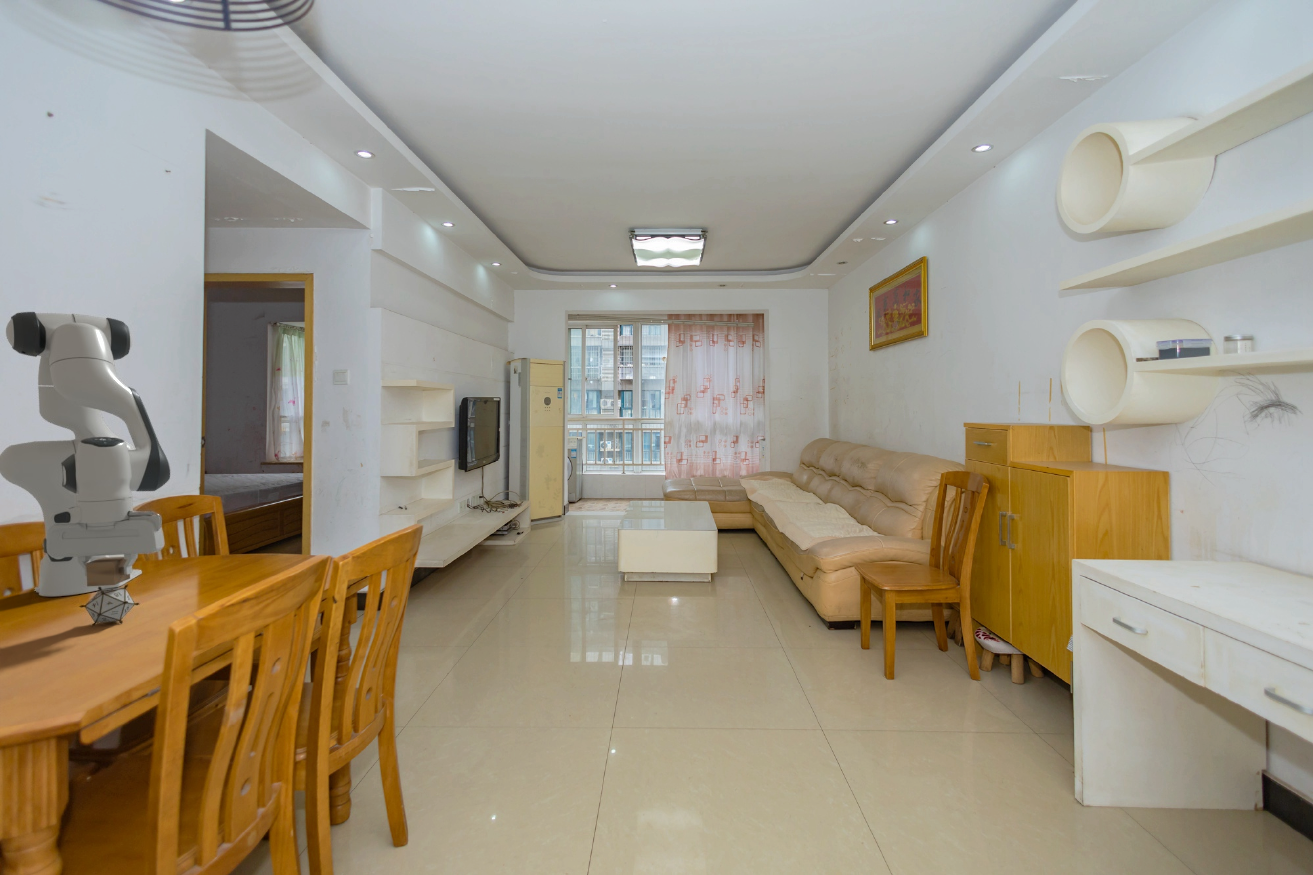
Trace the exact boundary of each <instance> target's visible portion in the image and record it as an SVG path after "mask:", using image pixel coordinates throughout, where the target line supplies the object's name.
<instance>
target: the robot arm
mask: <svg viewBox="0 0 1313 875" xmlns="http://www.w3.org/2000/svg"><path fill="white" fill-rule="evenodd" d="M5 336H6V339H7V342H8V343H9V345H10V346H11V348H12V350H14V351H15V352H17V353H18V354H21V355H23V356H29V357H35V358H36V357H38V356H39V357H40V361H39V366H38V375H37V376H38V377H37V384H38V387H37V388H38V390H37V391H38V408H39V409H38V412H39V414H40V415H39V416H41V417H42V419H43V420H44V421H45V422H48V423H50V424H52V425H55V426H58V427H61V428H64V429H66V430H69V431H71V432H72V433H73V435H74V437H75V438H74V439H70V440H67V439H66V440H39V441H37V440H36V441H27V442H23V443H17V444H12V445H9V446H7V447H6V448H5V449H4V450H3V451H2V452H1V453H0V475H1V477H3V478H4V479H5V480H6V481H8V482H9V483H11V484H13V485H15V486H18V487H20V488H21V489H23V490H25V491H26V492H27V493H29V494H30V495H31V496H32V497H33V498H34V499H35V500H36V501H37V503H38V505H39V506H40V509H41V512H42V516H43V522H44V523H43V524H44V532H45V538H43V541H42V542H43V543H42V547H43V553H45V555H44V556H43V558H42V559H41V560H40V562H39V563H40V565H39V574H38V575H39V578H38V586H36V587H34V589H35V590H33V591H36V592H35V593H38V595H39V596H41V597H62V596H73V595H79V594H85V593H91V592H95V591H96V592H98V591H100V590H99V589H98V587H101V588H102V589H112V588H120V587H122V586H124V585H126V584H127V583H128V582H130V581H131V580H133V579H135V578H136V577H138V576H141V574H143V571H142V570H141V569H137V568H136V569H135V568H133V565H134V564H135V562H136V560H137V559H138V557H139V556H138V555H141V554H155V553H158V552H160V551H161V550H162V549H163V548H164V547H165V537H164V531H163V528H162V525H163V524H162V520H163V518H162V515H160V514H159V513H157V512H155V511H154V510H145V511H142V510H134V506H133V505H134V504H133V502H134V501H133V493H132V492H155V491H157V490H159V489H161V488H162V487H163V486H164V485H166V483H167V482H169V480H170V479H171V472H172V471H171V470H172V469H171V465H170V462H169V460H168V458H167V455H166V454H165V451H164V450H163V448H162V446H161V445H160V442H159V439H158V437H157V435H156V432H155V429H154V427H153V423H152V422H151V420H150V417H149V415H148V412H147V409H146V408H145V404H144V403H143V400H142V399H141V397H140V395H139V393H138V392H137V390H135V388H132V387H130V386H128V385H126V384H125V383H124V382H123V381H122V379H121V378H120V377H119V375H118V373H117V371H116V367H115V361H116V360H120V359H123V358H124V357H126V356H127V355H129V353H130V351H131V348H132V346H133V336H132V333H131V331H130V329H129V326H128V325H127V324H126V323H125V322H124V321H122V320H118V319H115V318H111V317H106V318H104V317H99V316H92V315H86V314H79V313H69V314H68V313H56V312H55V313H53V312H50V313H48V312H47V313H46V312H38V313H36V312H35V311H22V312H21V311H20V312H17V313H15V314H14V315H12V316H11V317H10V320H9V321H8V323H7V325H6V328H5ZM102 412H104V413H108V414H110V415H113V416H116V417H118V418H119V419H121V420H122V421H123V422H124V423H125V425H126V427H127V430H128V433H129V435H130V438H131V440H132V443H133V445H132V444H131V443H130V442H129V441H126V440H124V438H123V439H122V438H121V437H120V436H118V435H117V434H116V433H114V432H113V431H112V430H111V429H110V428H109V427H108V425H107V423H106V422H105V419H104V417H103V414H102ZM105 557H124V559H127V561H126V563H125V565H124V566H121V567H119V571H120V572H119V574H120V575H128V574H130V579H128V580H125V581H123V582H120V583H118V584H116V585H105V586H87V571H86V563H88V562H91V561H94V560H97V559H100V558H105Z"/></svg>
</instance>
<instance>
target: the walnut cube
mask: <svg viewBox="0 0 1313 875" xmlns="http://www.w3.org/2000/svg"><path fill="white" fill-rule="evenodd" d="M126 561H127V559H124V557H105V558H100V559H97V560H94V561H91V562H88V563H86V571H87V586H105V585H116V584H118V583H120V582H123V581H125V580H128V579H130V574H128V575H120V574H119V572H120V571H119V567H121V566H124V565H125V563H126Z"/></svg>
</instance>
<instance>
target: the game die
mask: <svg viewBox="0 0 1313 875" xmlns="http://www.w3.org/2000/svg"><path fill="white" fill-rule="evenodd" d="M128 587H129V584H127V583H126V584H124V587H114V588H107V589H102V588H101V587H98V589H99V590H98V591H97V592H96V594H95V595H93V597H92V598H91V599H90V600H89V601H88V602H87V603H86V604H81V605H79V606H78V607H80V608H85V610H86V611H87V613H88V614H89V616H90V618H91V619H92V620H93V623H92V625H91V627H92V628H93V627H94V626H95V627H96V625H97V624H102V623H109V622H110V623H111V622H118V623H119V624H122V625H123V620H122V619H124V617H125V616H127V614H128V613H129V612H130V611H131V609H132V608H133V607H135V606H138V605H140V602H135V601H134V599H133V597H132V596H131V595H130V593H129V592H128V589H127V588H128Z"/></svg>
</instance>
